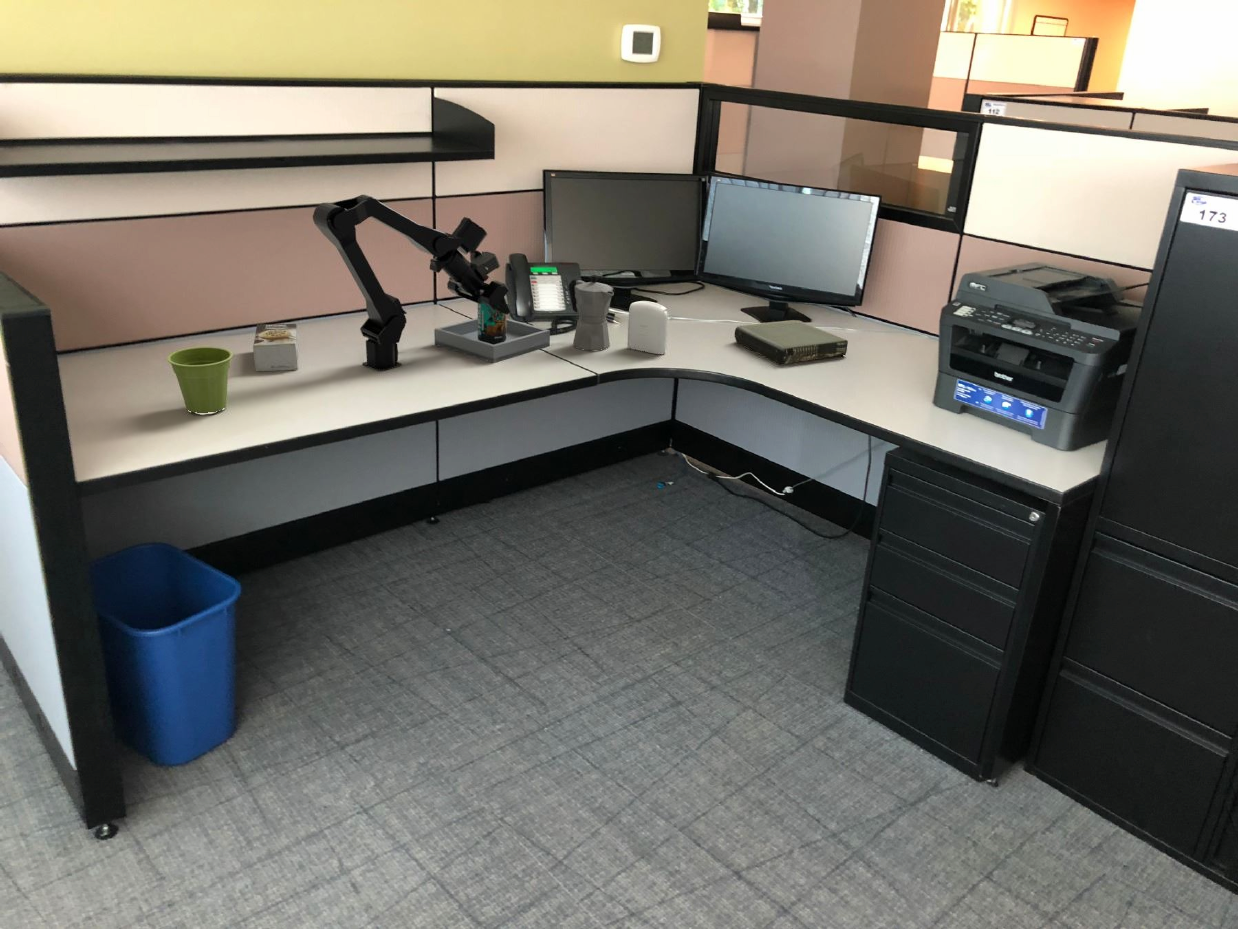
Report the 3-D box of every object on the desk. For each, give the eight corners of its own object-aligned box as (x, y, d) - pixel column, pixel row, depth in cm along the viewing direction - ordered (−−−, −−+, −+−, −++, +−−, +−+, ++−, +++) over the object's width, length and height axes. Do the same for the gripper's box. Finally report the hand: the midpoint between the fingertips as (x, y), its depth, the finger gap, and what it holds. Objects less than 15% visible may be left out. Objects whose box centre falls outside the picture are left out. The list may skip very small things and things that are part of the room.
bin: (493, 362, 238) (493, 346, 236) (434, 344, 249) (434, 328, 247) (549, 345, 253) (550, 330, 251) (491, 329, 264) (491, 314, 262)
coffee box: (252, 344, 221) (255, 323, 235) (255, 372, 223) (258, 350, 237) (296, 342, 223) (296, 322, 237) (298, 370, 226) (298, 348, 240)
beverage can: (505, 346, 247) (506, 297, 243) (476, 345, 247) (476, 296, 242) (506, 337, 254) (507, 290, 249) (478, 336, 253) (478, 289, 248)
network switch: (788, 370, 246) (790, 350, 244) (724, 345, 263) (725, 326, 261) (853, 357, 259) (855, 338, 257) (787, 333, 276) (790, 316, 274)
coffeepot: (623, 348, 254) (627, 277, 247) (596, 355, 248) (599, 282, 240) (581, 334, 264) (583, 265, 256) (554, 340, 257) (555, 270, 250)
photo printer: (624, 348, 254) (626, 300, 249) (632, 344, 258) (635, 297, 253) (660, 356, 250) (663, 307, 245) (668, 352, 253) (671, 303, 248)
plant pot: (164, 407, 201) (156, 353, 196) (222, 395, 209) (216, 343, 204) (189, 425, 193) (182, 368, 189) (248, 412, 201) (243, 357, 197)
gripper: (502, 249, 232) (539, 291, 243) (457, 235, 244) (494, 275, 256) (473, 287, 230) (512, 327, 241) (429, 271, 243) (468, 310, 254)
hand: (497, 308), depth 248 cm, fingers open, 9 cm apart
